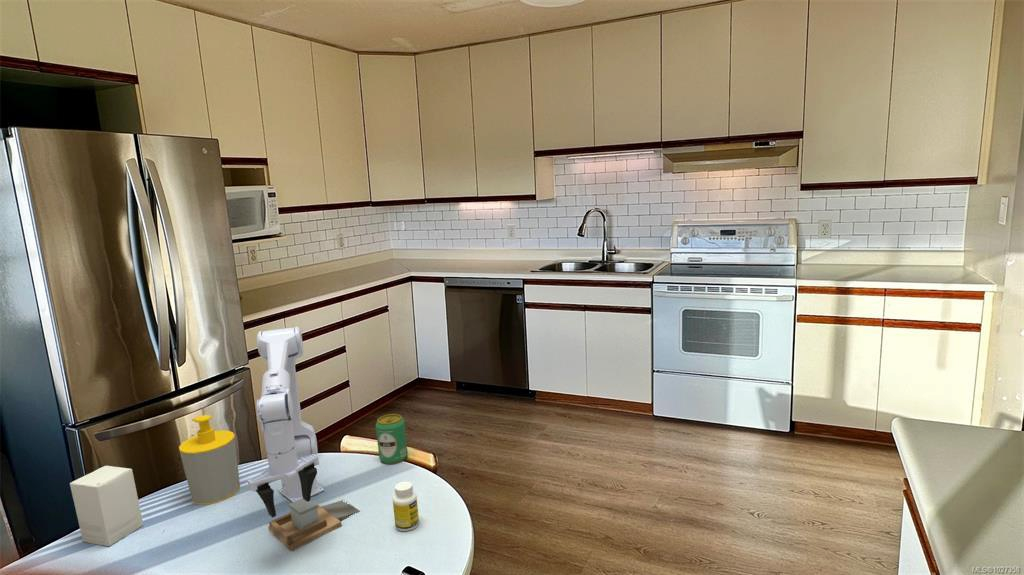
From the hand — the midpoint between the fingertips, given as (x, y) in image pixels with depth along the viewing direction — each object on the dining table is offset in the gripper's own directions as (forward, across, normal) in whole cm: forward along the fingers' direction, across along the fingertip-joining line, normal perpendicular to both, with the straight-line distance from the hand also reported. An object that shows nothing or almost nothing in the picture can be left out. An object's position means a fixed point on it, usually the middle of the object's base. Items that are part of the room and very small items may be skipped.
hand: (289, 507), depth 125 cm
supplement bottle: (+10, +21, -12) cm, 26 cm away
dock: (+10, +8, +6) cm, 15 cm away
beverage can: (+10, +38, +19) cm, 44 cm away
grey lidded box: (+9, +5, +6) cm, 12 cm away
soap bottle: (+10, -3, +41) cm, 42 cm away
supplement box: (+10, -26, +41) cm, 50 cm away
